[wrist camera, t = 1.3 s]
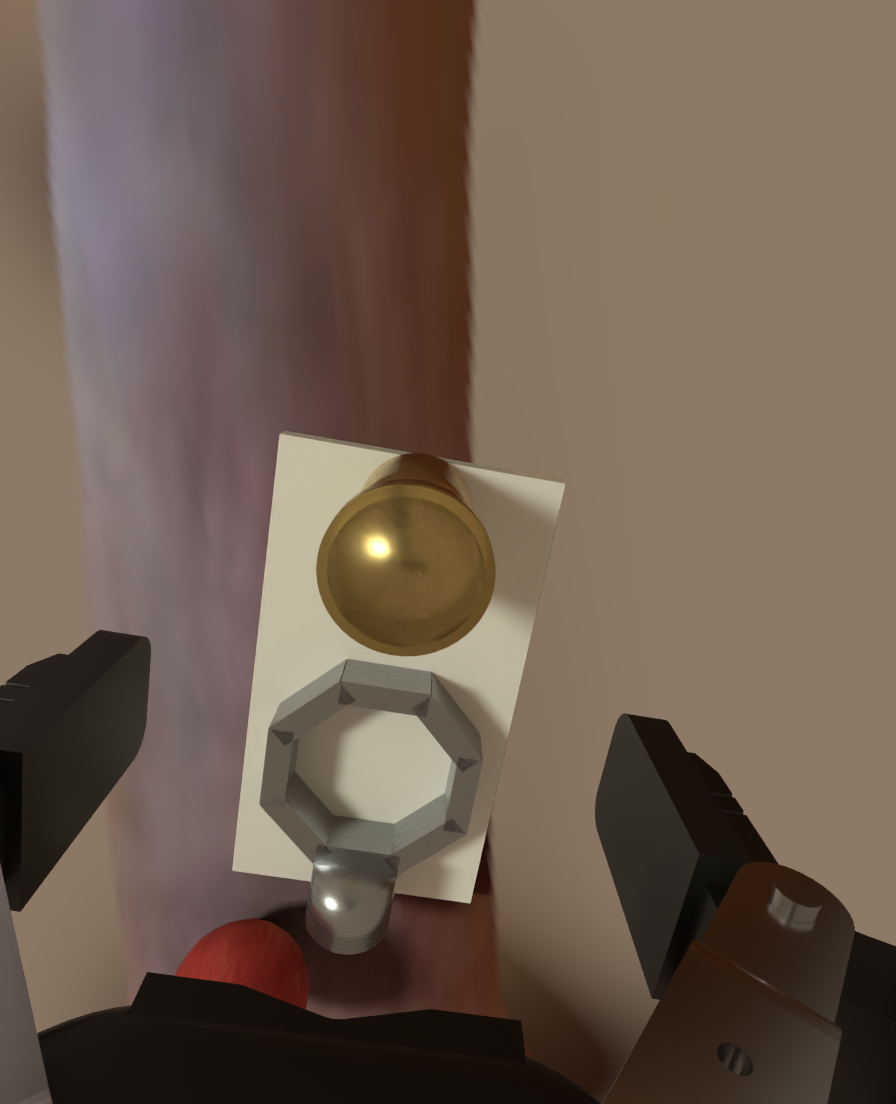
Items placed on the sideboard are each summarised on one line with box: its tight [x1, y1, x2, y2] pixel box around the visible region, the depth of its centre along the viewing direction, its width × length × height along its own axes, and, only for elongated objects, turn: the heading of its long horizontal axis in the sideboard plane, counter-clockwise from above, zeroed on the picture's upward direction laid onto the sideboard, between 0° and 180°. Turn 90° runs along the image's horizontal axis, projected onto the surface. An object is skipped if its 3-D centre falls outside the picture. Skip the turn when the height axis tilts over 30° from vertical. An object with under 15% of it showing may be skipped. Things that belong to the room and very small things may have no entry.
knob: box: [316, 453, 496, 656], centre depth 23 cm, size 5×5×8 cm
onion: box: [175, 918, 309, 1010], centre depth 30 cm, size 6×6×8 cm
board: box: [232, 431, 565, 903], centre depth 30 cm, size 20×11×1 cm, turn 170°
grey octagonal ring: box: [259, 659, 483, 955], centre depth 29 cm, size 11×9×4 cm
